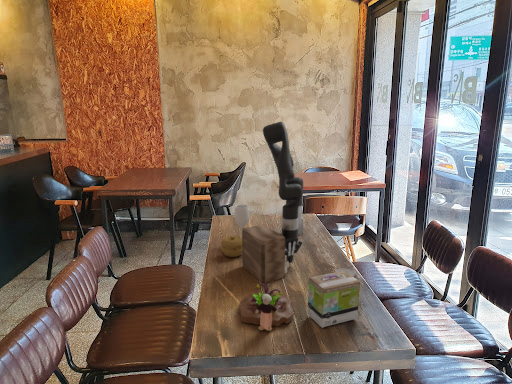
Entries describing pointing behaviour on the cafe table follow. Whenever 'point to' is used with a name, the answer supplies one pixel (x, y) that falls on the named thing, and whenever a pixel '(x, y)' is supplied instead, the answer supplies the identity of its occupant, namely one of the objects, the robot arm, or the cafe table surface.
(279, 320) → the plant
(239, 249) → the pot
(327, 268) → the cafe table surface
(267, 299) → the grandmother figurine
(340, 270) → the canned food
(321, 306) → the tea box
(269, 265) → the wood grain block
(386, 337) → the cafe table surface
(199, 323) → the cafe table surface
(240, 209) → the wineglass
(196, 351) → the cafe table surface
